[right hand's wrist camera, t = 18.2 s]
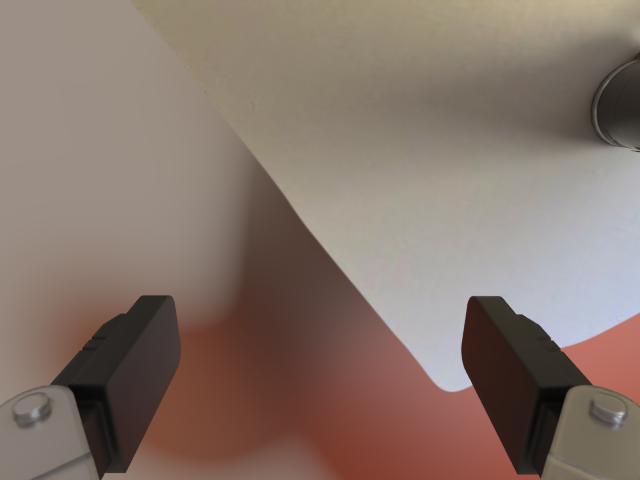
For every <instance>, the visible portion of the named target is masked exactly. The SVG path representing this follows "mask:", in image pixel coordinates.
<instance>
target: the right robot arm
mask: <svg viewBox="0 0 640 480" xmlns="http://www.w3.org/2000/svg"><path fill="white" fill-rule="evenodd" d="M591 117H592V123H593V126H594V129H595V131H596V133H597V134H598V135H599V136H600V138H602V139H603V140H604V141H606V142H607V143H609V144H612V145H615V146H620V147H626V148H632V149H637V150H640V53H639V54H638V55H637V57H636V58H635V59H634V60H633V61H630V62H628V63H626V64H624V65H622V66H620V67H618V68H617V69H616V70H614V71H613V72H612V73H611V74H610V75H609V76H608V77H607V78H606V79H605V80H604V81H603V83H602V84H601V86H600V87H599V89H598V91H597V93H596V95H595V97H594V100H593V104H592V111H591ZM631 151H633V150H631ZM635 152H640V151H635ZM180 354H181V344H180V337H179V330H178V323H177V316H176V309H175V303H174V300H173V298H172V296H141V297H140V298H139V299H138V300H137V301H136V303H135V304H134V305H133V306H132V307H131V309H130V310H129V311H128V312H127V313H126V314H119V315H118V316H116V317H114V318H113V319H111V320H110V321H108V322H106V323H105V324H103V325H102V326H101V327H100V329H99V330H98V331H97V332H96V333H95V334H94V335H93V337H92V340H89V341H88V342H87V343H86V344H85V346H84V347H83V350H81V351H79V352H78V353H77V355H76V356H75V357H74V358H73V359H72V360H71V361H70V363H69V364H68V365H67V366H66V367H65V368H64V369H63V370H62V372H61V373H60V374H59V375H58V376H57V377H56V378H55V379H54V381H53V382H52V383H51V384H50V385H47V386H41V387H37V388H33V389H30V390H27V391H25V392H22V393H20V394H18V395H16V396H14V397H12V398H11V399H9V400H8V401H6V402H5V403H3V404H2V405H1V406H0V480H101V479H102V478H103V476H104V474H105V473H126V471H127V469H128V467H129V465H130V463H131V461H132V459H133V457H134V455H135V453H136V451H137V449H138V447H139V445H140V443H141V441H142V439H143V437H144V435H145V433H146V431H147V429H148V427H149V425H150V423H151V420H152V418H153V416H154V414H155V412H156V410H157V408H158V406H159V404H160V402H161V400H162V398H163V396H164V394H165V392H166V390H167V388H168V386H169V384H170V382H171V380H172V378H173V376H174V374H175V372H176V370H177V368H178V365H179V361H180ZM461 354H462V361H463V365H464V368H465V370H466V372H467V374H468V376H469V378H470V380H471V382H472V384H473V386H474V388H475V390H476V392H477V394H478V396H479V398H480V400H481V402H482V404H483V406H484V408H485V410H486V412H487V414H488V416H489V418H490V420H491V422H492V424H493V426H494V428H495V430H496V432H497V434H498V436H499V438H500V440H501V442H502V444H503V446H504V448H505V450H506V452H507V454H508V456H509V458H510V460H511V462H512V464H513V466H514V468H515V470H516V472H517V474H538V475H539V477H540V478H541V480H640V406H639V405H638V404H637V403H635V402H634V401H632V400H631V399H629V398H628V397H626V396H624V395H622V394H620V393H618V392H615V391H613V390H610V389H607V388H603V387H599V386H593V385H592V384H591V382H590V381H589V380H588V379H587V378H586V377H585V376H584V375H583V373H582V372H581V371H580V370H579V369H578V368H577V367H576V366H575V364H574V363H573V362H572V361H571V360H570V359H569V358H568V357H567V356H566V354H565V353H564V352H562V351H560V348H559V347H558V345H557V344H556V343H555V342H554V341H551V338H550V336H549V335H548V334H547V333H546V332H545V331H544V330H543V329H542V327H541V326H540V325H538V324H537V323H535V322H533V321H532V320H530V319H529V318H527V317H525V316H524V315H522V314H516V313H515V312H514V311H513V310H512V309H511V307H510V306H509V305H508V304H507V303H506V301H505V300H504V299H503V298H502V297H500V296H472V297H470V299H469V301H468V305H467V311H466V318H465V325H464V332H463V338H462V346H461Z"/></svg>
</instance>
